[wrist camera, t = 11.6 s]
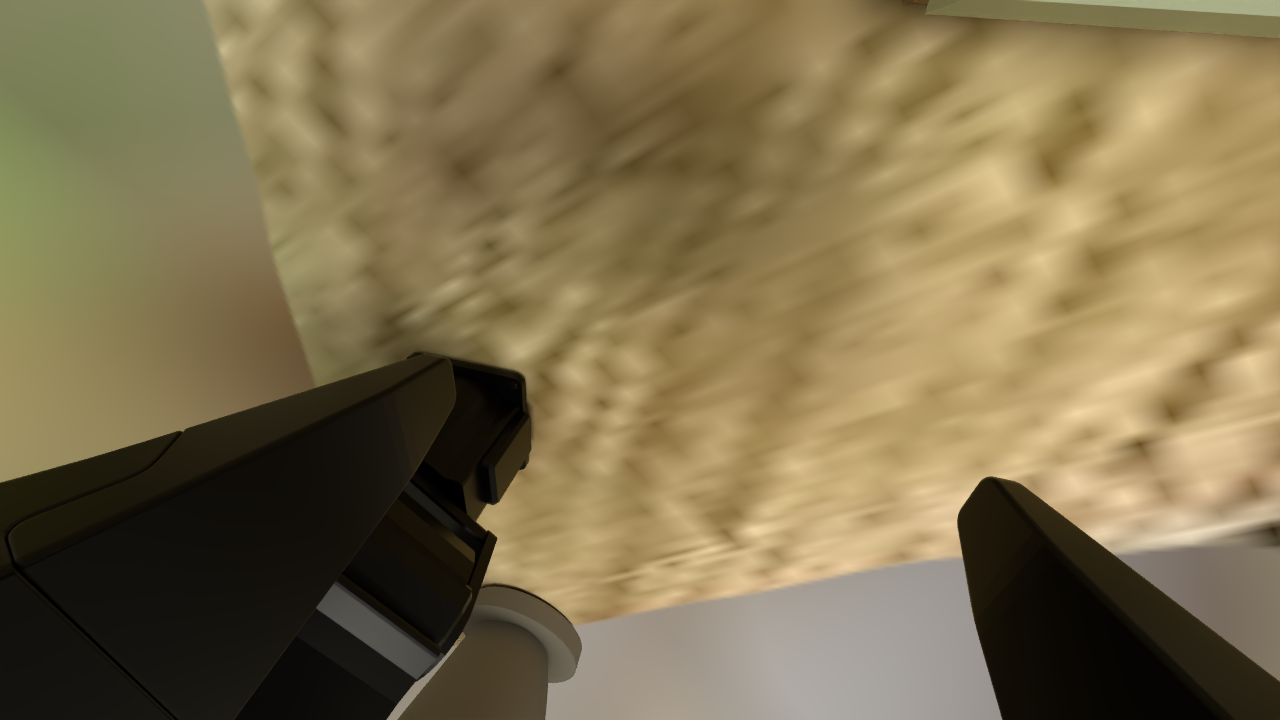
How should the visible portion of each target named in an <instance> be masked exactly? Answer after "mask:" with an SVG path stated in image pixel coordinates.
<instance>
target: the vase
mask: <svg viewBox="0 0 1280 720" xmlns="http://www.w3.org/2000/svg"><path fill="white" fill-rule="evenodd" d="M463 632H464V634H465V635H466V637H465V638H464V639H463V640H462V642H461V643H460V644H459V645H458V646H457V648H456V649H455V650H454V652H453V653H452V654H451V655H450V656H449V657H448V659H447V660H446V661H445V662H444V664H443V665H442V666H441V667H440V669H439V670H438V671H437V672H436V673H435V675H434V676H433V677H432V678H431V679H430V681H429V682H428V683H427V684H426V686H425V687H424V688H423V689H422V690H421V691H420V693H419V694H418V695H417V696H416V698H415V699H414V700H413V701H412V702H411V704H410V705H409V706H408V707H407V708H406V710H405V711H404V712H403V713H402V715H401V716H400V717H399V718H398V720H545V715H546V704H547V691H548V683H558V682H563V681H566V680H568V679H570V678H571V677H572V676H573V675H574V673H575V671H576V668H577V664H578V661H579V657H580V654H581V650H582V645H581V640H580V638H579V636H578V634H577V632H576V630H575V629H574V628H573V626H572V625H571V624H570V623H569V622H568V621H567V620H566V619H565V618H564V617H563V616H562V615H561V614H560V613H559V612H557V611H556V610H555V609H553V608H552V607H550V606H549V605H547V604H546V603H544V602H542V601H541V600H539V599H537V598H535V597H533V596H531V595H528V594H526V593H523V592H520V591H517V590H514V589H510V588H505V587H485V588H481V589H480V591H479V594H478V596H477V599H476V602H475V605H474V608H473V611H472V613H471V616H470V618H469V620H468V622H467V624H466V626H465V628H464V629H463Z"/></svg>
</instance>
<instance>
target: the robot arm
mask: <svg viewBox="0 0 1280 720" xmlns="http://www.w3.org/2000/svg"><path fill="white" fill-rule="evenodd" d="M512 382H514V383H516V384H517V386H516V385H514V384H513V383H512ZM530 451H531V428H530V416H529V414H528V412H527V409H526V387H525V380H524V379H523V377H521V376H520V375H518V374H515V373H511V372H506V371H502V370H497V369H492V368H488V367H483V366H479V365H474V364H469V363H465V362H460V361H456V360H451V359H448V358H446V357H442V356H438V355H433V354H423V353H419V352H415V353H413V354H411V355H410V356H409V357H408V358H407V359H406V360H403V361H400V362H397V363H394V364H391V365H387V366H384V367H381V368H378V369H375V370H372V371H368V372H365V373H362V374H359V375H356V376H352V377H349V378H346V379H343V380H340V381H336V382H333V383H330V384H327V385H324V386H320V387H317V388H314V389H311V390H308V391H305V392H301V393H298V394H295V395H292V396H289V397H286V398H283V399H279V400H276V401H273V402H270V403H266V404H263V405H260V406H257V407H254V408H250V409H247V410H244V411H241V412H238V413H235V414H231V415H228V416H225V417H222V418H218V419H215V420H212V421H209V422H206V423H202V424H199V425H196V426H193V427H190V428H187V429H185V430H184V431H183V432H182V431H176V432H174V433H170V434H167V435H164V436H161V437H157V438H154V439H151V440H148V441H145V442H141V443H138V444H135V445H131V446H128V447H125V448H121V449H118V450H115V451H112V452H108V453H105V454H102V455H98V456H95V457H92V458H88V459H84V460H81V461H78V462H74V463H70V464H67V465H63V466H59V467H56V468H52V469H49V470H45V471H41V472H38V473H34V474H31V475H27V476H23V477H20V478H16V479H13V480H9V481H5V482H1V483H0V720H386V719H387V718H388V716H389V715H390V714H391V712H392V711H393V710H394V708H395V707H396V705H397V704H398V703H399V701H400V700H401V699H402V698H403V696H404V695H405V694H406V693H407V691H408V690H409V689H410V688H411V686H412V685H413V684H414V682H416V681H418V680H419V679H421V678H422V677H424V676H425V675H426V674H427V673H429V672H430V671H431V670H432V669H433V668H434V667H435V666H436V665H437V664H438V663H439V662H440V661H441V660H442V658H443V657H444V656H445V655H446V654H447V652H448V651H449V650H450V649H451V647H452V646H453V645H454V643H455V642H456V640H457V639H458V637H459V636H460V634H461V633H462V631H463V629H464V628H465V626H466V624H467V622H468V620H469V618H470V616H471V613H472V611H473V608H474V605H475V602H476V599H477V596H478V594H479V591H480V588H481V585H482V582H483V579H484V576H485V573H486V570H487V567H488V564H489V562H490V559H491V556H492V553H493V550H494V547H495V544H496V541H497V537H496V536H495V535H494V534H493V533H491V532H490V531H489V530H488V531H486V530H485V529H484V528H483V527H481V526H480V525H479V524H478V523H477V522H476V520H477V519H478V517H479V516H480V514H481V513H482V511H483V509H484V508H485V506H486V505H487V504H491V505H495V504H496V503H498V502H499V501H500V499H501V498H502V496H503V495H504V493H505V491H506V490H507V488H508V487H509V485H510V483H511V482H512V480H513V479H514V477H515V475H516V474H517V472H518V470H522V469H524V468H525V467H526V466H527V464H528V462H529V453H530ZM957 525H958V532H959V538H960V543H961V549H962V555H963V561H964V566H965V572H966V578H967V584H968V590H969V596H970V602H971V607H972V612H973V616H974V621H975V624H976V629H977V632H978V636H979V640H980V643H981V647H982V650H983V654H984V657H985V661H986V664H987V668H988V671H989V675H990V678H991V682H992V685H993V688H994V692H995V695H996V699H997V702H998V706H999V709H1000V713H1001V717H1002V720H1280V681H1278V680H1277V679H1276V678H1275V677H1273V676H1272V675H1270V674H1269V673H1268V672H1267V671H1265V670H1264V669H1263V668H1261V667H1260V666H1259V665H1257V664H1256V663H1255V662H1253V661H1252V660H1251V659H1250V658H1248V657H1247V656H1246V655H1244V654H1243V653H1242V652H1240V651H1239V650H1238V649H1237V648H1235V647H1234V646H1233V645H1231V644H1230V643H1229V642H1227V641H1226V640H1225V639H1223V638H1222V637H1221V636H1219V635H1218V634H1217V633H1216V632H1214V631H1213V630H1211V629H1210V628H1209V627H1208V626H1206V625H1205V624H1204V623H1202V622H1201V621H1200V620H1199V619H1197V618H1196V617H1194V616H1193V615H1192V614H1191V613H1189V612H1188V611H1187V610H1185V609H1184V608H1183V607H1181V606H1180V605H1179V604H1177V603H1176V602H1175V601H1173V600H1172V599H1171V598H1170V597H1168V596H1167V595H1166V594H1164V593H1163V592H1162V591H1160V590H1159V589H1158V588H1157V587H1155V586H1154V585H1153V584H1151V583H1150V582H1149V581H1147V580H1146V579H1145V578H1143V577H1142V576H1141V575H1140V574H1138V573H1137V572H1135V571H1134V570H1133V569H1132V568H1130V567H1129V566H1128V565H1126V564H1125V563H1124V562H1122V561H1121V560H1120V559H1119V558H1117V557H1116V556H1115V555H1113V554H1112V553H1111V552H1109V551H1108V550H1107V549H1106V548H1104V547H1103V546H1102V545H1100V544H1099V543H1098V542H1096V541H1095V540H1094V539H1092V538H1091V537H1090V536H1088V535H1087V534H1086V533H1085V532H1083V531H1082V530H1081V529H1079V528H1078V527H1077V526H1075V525H1074V524H1073V523H1071V522H1070V521H1069V520H1068V519H1066V518H1065V517H1064V516H1062V515H1061V514H1060V513H1058V512H1057V511H1056V510H1054V509H1053V508H1052V507H1050V506H1049V505H1048V504H1047V503H1045V502H1044V501H1043V500H1041V499H1040V498H1039V497H1037V496H1036V495H1035V494H1033V493H1032V492H1031V491H1030V490H1028V489H1027V488H1026V487H1024V486H1023V485H1021V484H1020V483H1018V482H1015V481H1011V480H1006V479H1002V478H997V477H986V478H984V479H982V480H981V481H980V483H979V484H978V485H977V487H976V488H975V490H974V491H973V492H972V494H971V495H970V497H969V498H968V499H967V501H966V502H965V504H964V505H963V506H962V508H961V510H960V512H959V514H958V519H957Z"/></svg>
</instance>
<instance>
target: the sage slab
mask: <svg viewBox="0 0 1280 720" xmlns="http://www.w3.org/2000/svg"><path fill="white" fill-rule="evenodd" d="M925 14H932V15H947V16H961V17H976V18H990V19H1005V20H1020V21H1034V22H1049V23H1063V24H1078V25H1093V26H1107V27H1122V28H1136V29H1151V30H1165V31H1180V32H1195V33H1209V34H1224V35H1238V36H1253V37H1268V38H1280V0H929V2H928V5H927V9H926V12H925Z"/></svg>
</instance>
